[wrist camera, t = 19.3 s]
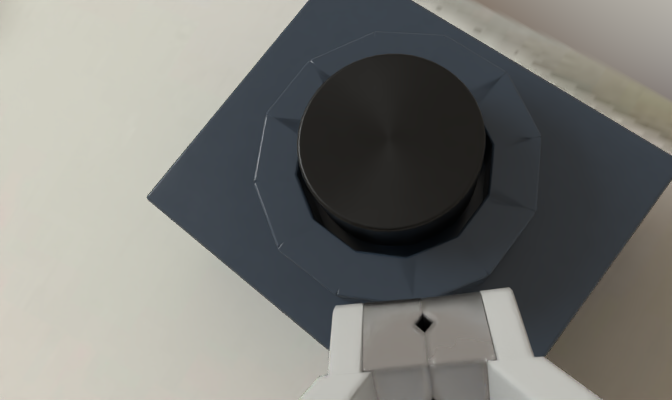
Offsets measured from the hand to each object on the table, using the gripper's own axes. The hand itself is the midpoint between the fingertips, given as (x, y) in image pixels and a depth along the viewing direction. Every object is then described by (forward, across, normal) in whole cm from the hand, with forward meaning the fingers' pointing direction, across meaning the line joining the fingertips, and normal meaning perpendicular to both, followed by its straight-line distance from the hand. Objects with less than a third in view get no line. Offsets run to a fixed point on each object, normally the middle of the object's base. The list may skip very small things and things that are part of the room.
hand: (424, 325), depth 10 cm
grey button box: (+12, 0, +5) cm, 13 cm away
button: (+6, 0, 0) cm, 6 cm away
